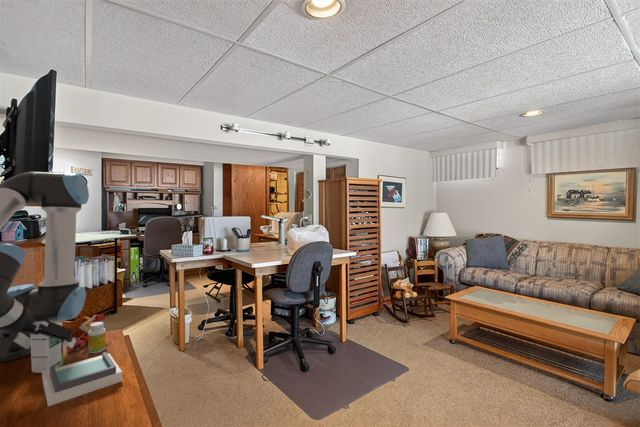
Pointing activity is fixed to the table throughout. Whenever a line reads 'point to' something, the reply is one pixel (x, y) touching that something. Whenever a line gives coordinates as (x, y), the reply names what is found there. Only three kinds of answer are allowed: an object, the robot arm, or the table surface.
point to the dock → (80, 378)
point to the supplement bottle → (96, 338)
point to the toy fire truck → (84, 337)
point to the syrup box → (46, 351)
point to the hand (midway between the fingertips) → (51, 344)
